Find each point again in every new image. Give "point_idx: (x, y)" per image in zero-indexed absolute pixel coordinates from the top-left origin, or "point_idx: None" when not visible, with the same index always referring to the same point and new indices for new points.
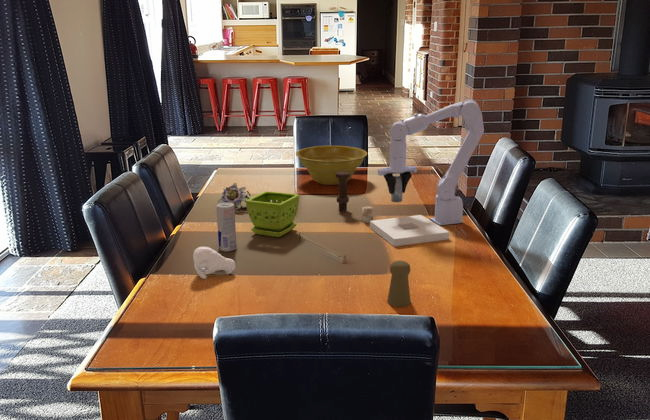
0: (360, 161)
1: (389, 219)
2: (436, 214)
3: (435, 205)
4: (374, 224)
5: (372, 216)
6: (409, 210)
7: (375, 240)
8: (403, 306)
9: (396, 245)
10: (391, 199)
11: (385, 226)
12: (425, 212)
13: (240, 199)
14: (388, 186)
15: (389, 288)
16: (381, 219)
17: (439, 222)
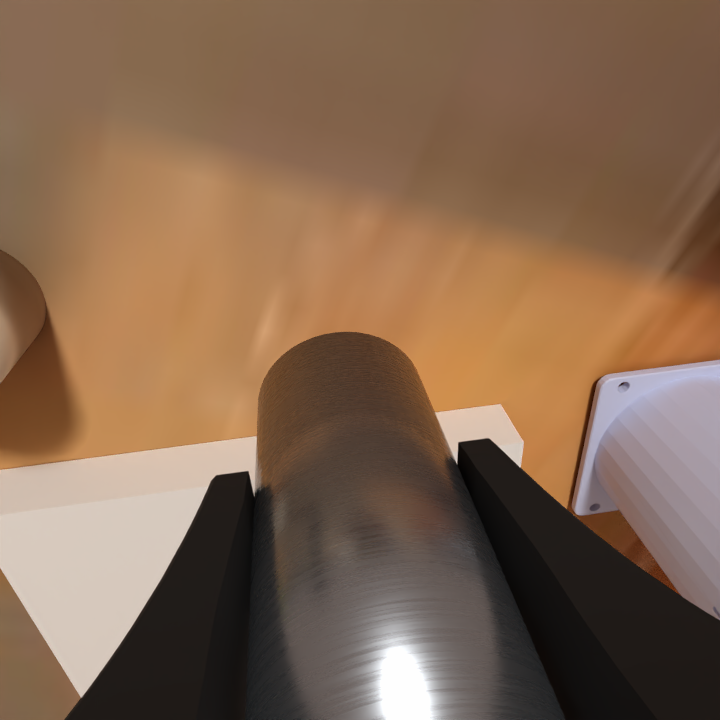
0: None
1: (182, 510)
2: (625, 499)
3: (684, 535)
4: (15, 588)
5: (12, 367)
6: (607, 21)
7: (32, 665)
8: None
9: None
10: (257, 424)
11: (109, 632)
12: (710, 163)
13: None
14: (175, 588)
15: None
16: (100, 501)
17: (596, 485)
